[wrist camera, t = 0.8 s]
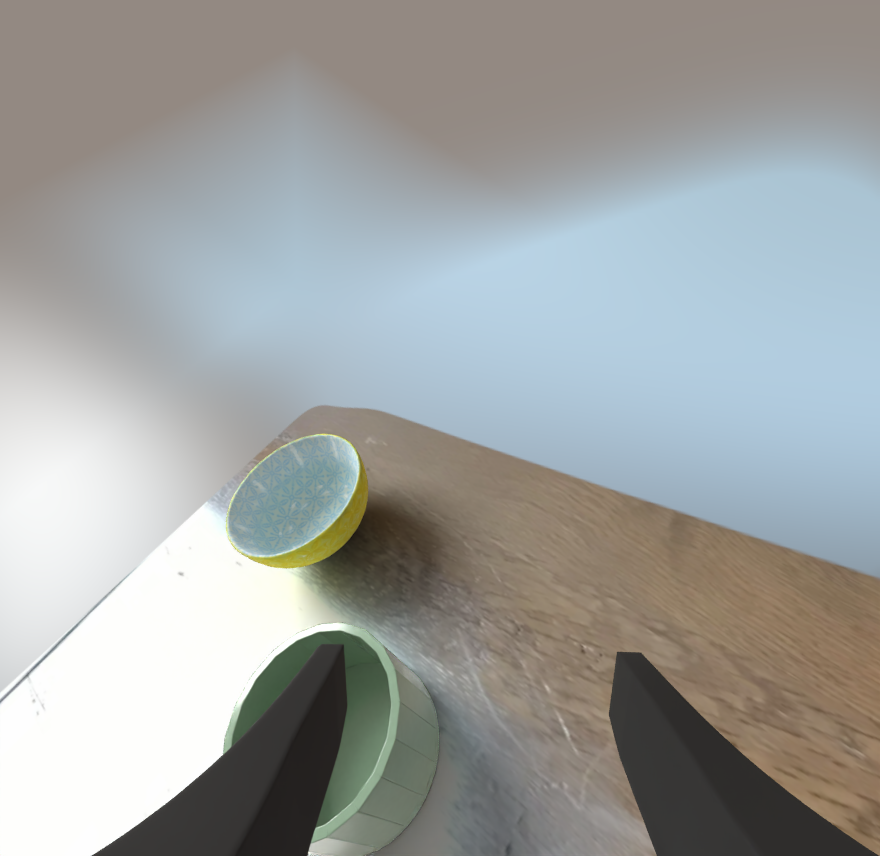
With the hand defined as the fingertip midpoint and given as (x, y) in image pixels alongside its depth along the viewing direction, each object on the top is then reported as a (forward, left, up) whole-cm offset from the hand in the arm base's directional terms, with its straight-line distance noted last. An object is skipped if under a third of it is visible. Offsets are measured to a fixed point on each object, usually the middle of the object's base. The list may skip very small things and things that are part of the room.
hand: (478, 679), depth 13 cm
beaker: (+11, +6, -17) cm, 21 cm away
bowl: (+25, -3, -17) cm, 31 cm away
